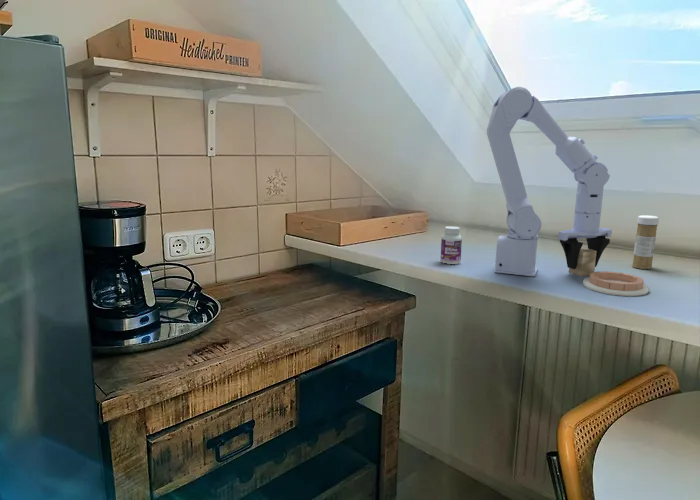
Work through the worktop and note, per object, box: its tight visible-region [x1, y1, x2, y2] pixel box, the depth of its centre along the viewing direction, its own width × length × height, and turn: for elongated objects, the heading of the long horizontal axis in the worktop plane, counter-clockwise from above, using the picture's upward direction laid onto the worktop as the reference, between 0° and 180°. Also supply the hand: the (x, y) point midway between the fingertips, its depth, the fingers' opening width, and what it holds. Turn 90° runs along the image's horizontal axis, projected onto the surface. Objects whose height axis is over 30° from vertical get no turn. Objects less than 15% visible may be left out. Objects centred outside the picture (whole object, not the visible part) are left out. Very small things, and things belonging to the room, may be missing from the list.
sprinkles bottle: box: [631, 214, 660, 270], centre depth 125 cm, size 5×5×14 cm
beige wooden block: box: [568, 247, 597, 277], centre depth 121 cm, size 4×4×6 cm
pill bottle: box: [440, 225, 463, 265], centre depth 131 cm, size 5×5×10 cm
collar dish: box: [582, 270, 650, 297], centre depth 109 cm, size 13×13×2 cm
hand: (581, 267), depth 121 cm, fingers open, 6 cm apart
